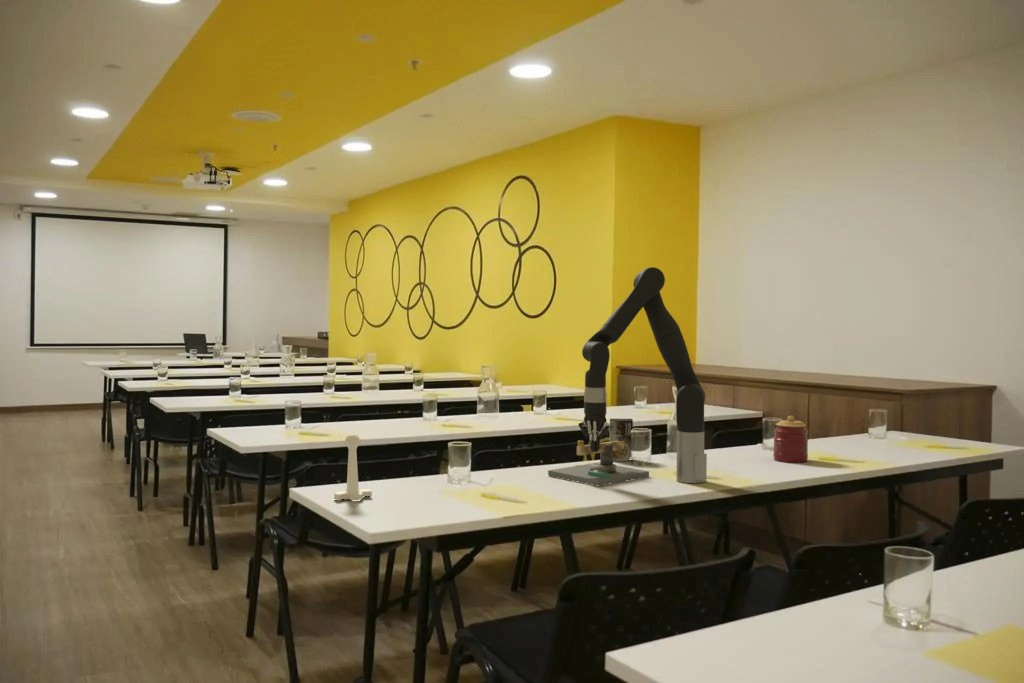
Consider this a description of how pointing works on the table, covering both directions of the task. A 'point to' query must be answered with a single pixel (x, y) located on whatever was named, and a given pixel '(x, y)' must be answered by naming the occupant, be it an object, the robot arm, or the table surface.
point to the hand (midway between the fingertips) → (594, 451)
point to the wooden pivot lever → (602, 454)
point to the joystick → (352, 473)
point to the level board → (598, 474)
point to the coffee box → (623, 429)
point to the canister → (790, 441)
